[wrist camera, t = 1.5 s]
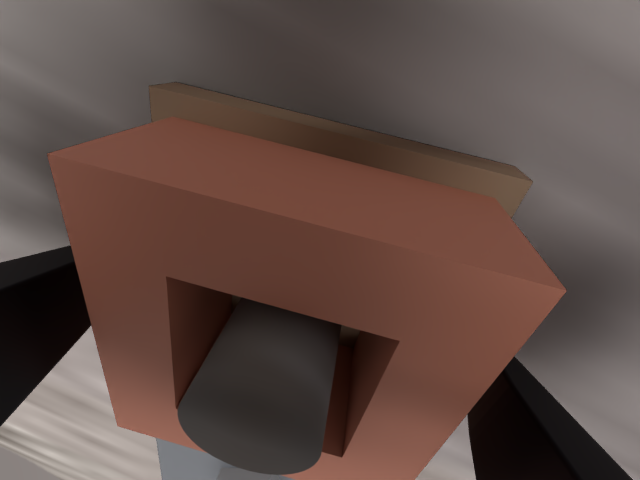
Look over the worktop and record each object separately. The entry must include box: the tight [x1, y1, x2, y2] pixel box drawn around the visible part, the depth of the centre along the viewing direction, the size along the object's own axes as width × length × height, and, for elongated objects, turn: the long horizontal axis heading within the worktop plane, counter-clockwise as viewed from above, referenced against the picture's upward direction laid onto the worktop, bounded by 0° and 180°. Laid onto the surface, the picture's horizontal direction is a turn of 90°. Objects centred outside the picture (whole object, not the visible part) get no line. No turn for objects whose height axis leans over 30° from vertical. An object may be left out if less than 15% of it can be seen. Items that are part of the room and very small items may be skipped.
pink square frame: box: [47, 117, 567, 480], centre depth 7 cm, size 7×7×3 cm
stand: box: [149, 82, 533, 475], centre depth 7 cm, size 8×8×5 cm
